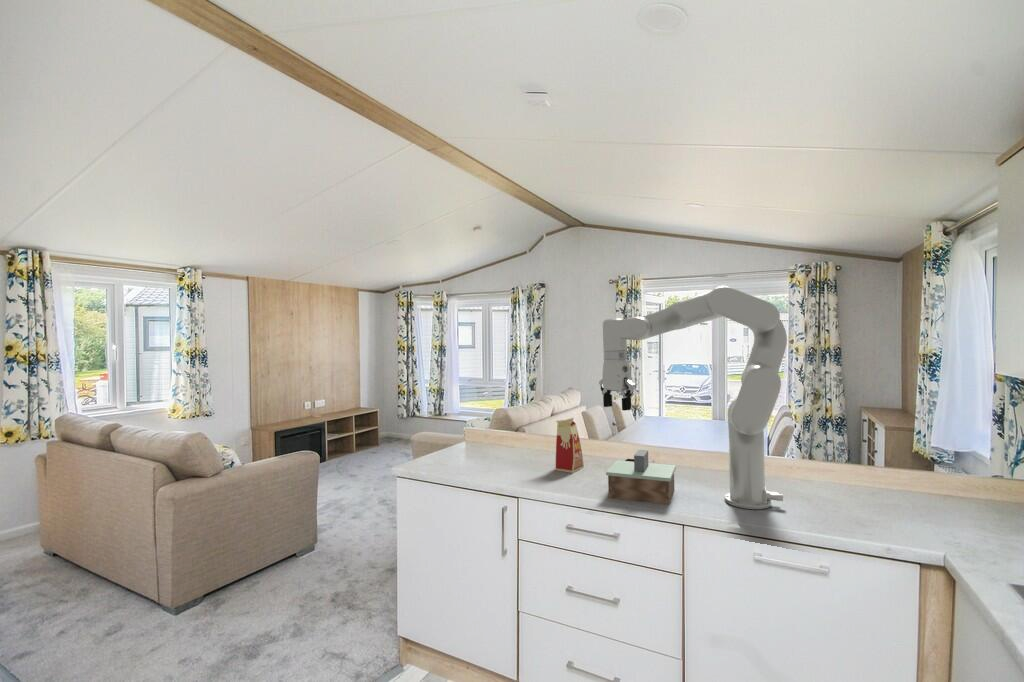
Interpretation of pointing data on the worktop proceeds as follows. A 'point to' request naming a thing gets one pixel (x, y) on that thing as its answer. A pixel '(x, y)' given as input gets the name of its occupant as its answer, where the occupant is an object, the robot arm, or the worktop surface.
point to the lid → (642, 468)
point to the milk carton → (568, 447)
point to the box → (641, 489)
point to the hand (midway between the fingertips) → (617, 408)
